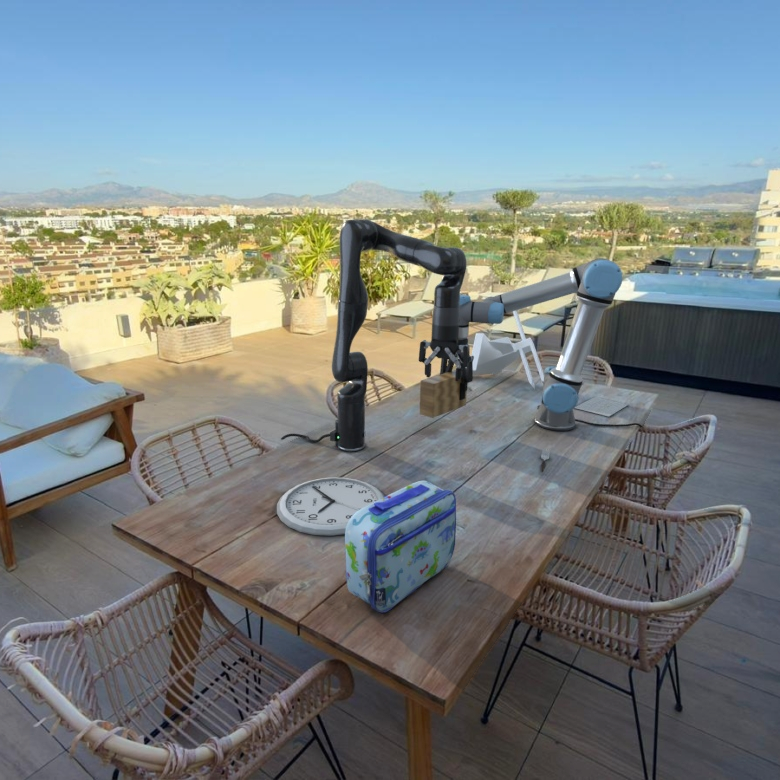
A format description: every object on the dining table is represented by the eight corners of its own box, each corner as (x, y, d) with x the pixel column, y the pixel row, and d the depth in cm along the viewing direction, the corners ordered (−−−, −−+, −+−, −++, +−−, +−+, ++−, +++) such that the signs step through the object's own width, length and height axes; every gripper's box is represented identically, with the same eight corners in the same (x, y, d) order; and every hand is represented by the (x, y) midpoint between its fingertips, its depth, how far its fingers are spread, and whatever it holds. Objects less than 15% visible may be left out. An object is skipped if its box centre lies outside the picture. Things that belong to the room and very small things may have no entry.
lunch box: (374, 626, 100) (375, 530, 93) (338, 598, 107) (337, 508, 101) (459, 568, 117) (465, 484, 111) (424, 547, 124) (427, 467, 118)
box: (453, 401, 205) (454, 370, 201) (466, 405, 201) (467, 373, 197) (419, 414, 190) (420, 380, 187) (432, 418, 186) (433, 383, 183)
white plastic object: (482, 418, 267) (461, 395, 242) (463, 346, 289) (443, 318, 265) (552, 394, 255) (538, 367, 230) (527, 321, 277) (512, 289, 252)
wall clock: (392, 527, 129) (268, 531, 127) (391, 533, 130) (269, 537, 127) (383, 473, 158) (282, 475, 155) (383, 478, 158) (282, 480, 156)
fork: (537, 473, 163) (538, 467, 163) (541, 453, 178) (542, 448, 177) (546, 474, 163) (546, 468, 162) (549, 454, 177) (550, 449, 176)
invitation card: (608, 416, 214) (573, 407, 224) (608, 416, 214) (573, 408, 224) (628, 404, 229) (594, 396, 238) (628, 405, 229) (594, 397, 238)
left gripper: (416, 322, 144) (415, 379, 148) (467, 326, 139) (464, 385, 143) (425, 318, 150) (423, 372, 155) (474, 322, 145) (470, 378, 150)
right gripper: (431, 335, 196) (429, 393, 203) (473, 342, 184) (469, 405, 191) (443, 332, 201) (441, 389, 208) (485, 339, 189) (481, 400, 196)
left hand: (442, 378), depth 149 cm, fingers open, 8 cm apart
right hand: (454, 397), depth 199 cm, fingers closed on box, 6 cm apart
